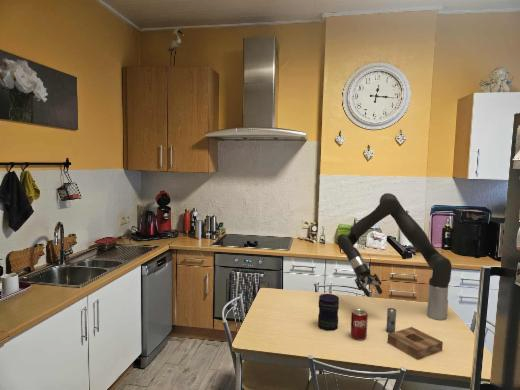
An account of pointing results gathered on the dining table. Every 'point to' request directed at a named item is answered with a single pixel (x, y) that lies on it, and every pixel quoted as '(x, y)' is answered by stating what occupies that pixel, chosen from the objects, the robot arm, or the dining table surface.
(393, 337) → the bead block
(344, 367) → the dining table surface
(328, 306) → the storage jar
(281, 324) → the dining table surface
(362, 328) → the soda can
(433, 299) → the robot arm
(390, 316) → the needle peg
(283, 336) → the dining table surface
